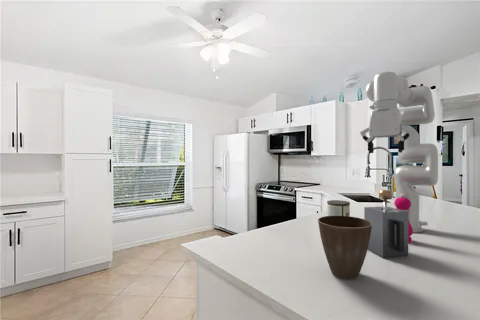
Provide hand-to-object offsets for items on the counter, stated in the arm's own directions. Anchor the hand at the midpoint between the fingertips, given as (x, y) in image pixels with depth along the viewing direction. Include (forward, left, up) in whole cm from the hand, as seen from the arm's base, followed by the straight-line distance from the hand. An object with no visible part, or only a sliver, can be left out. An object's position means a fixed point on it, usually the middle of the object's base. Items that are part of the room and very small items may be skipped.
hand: (385, 152), depth 92 cm
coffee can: (+2, -29, -37) cm, 47 cm away
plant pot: (+25, +14, -37) cm, 47 cm away
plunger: (0, 0, -31) cm, 31 cm away
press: (0, +2, -37) cm, 37 cm away
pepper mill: (-17, -11, -37) cm, 42 cm away
